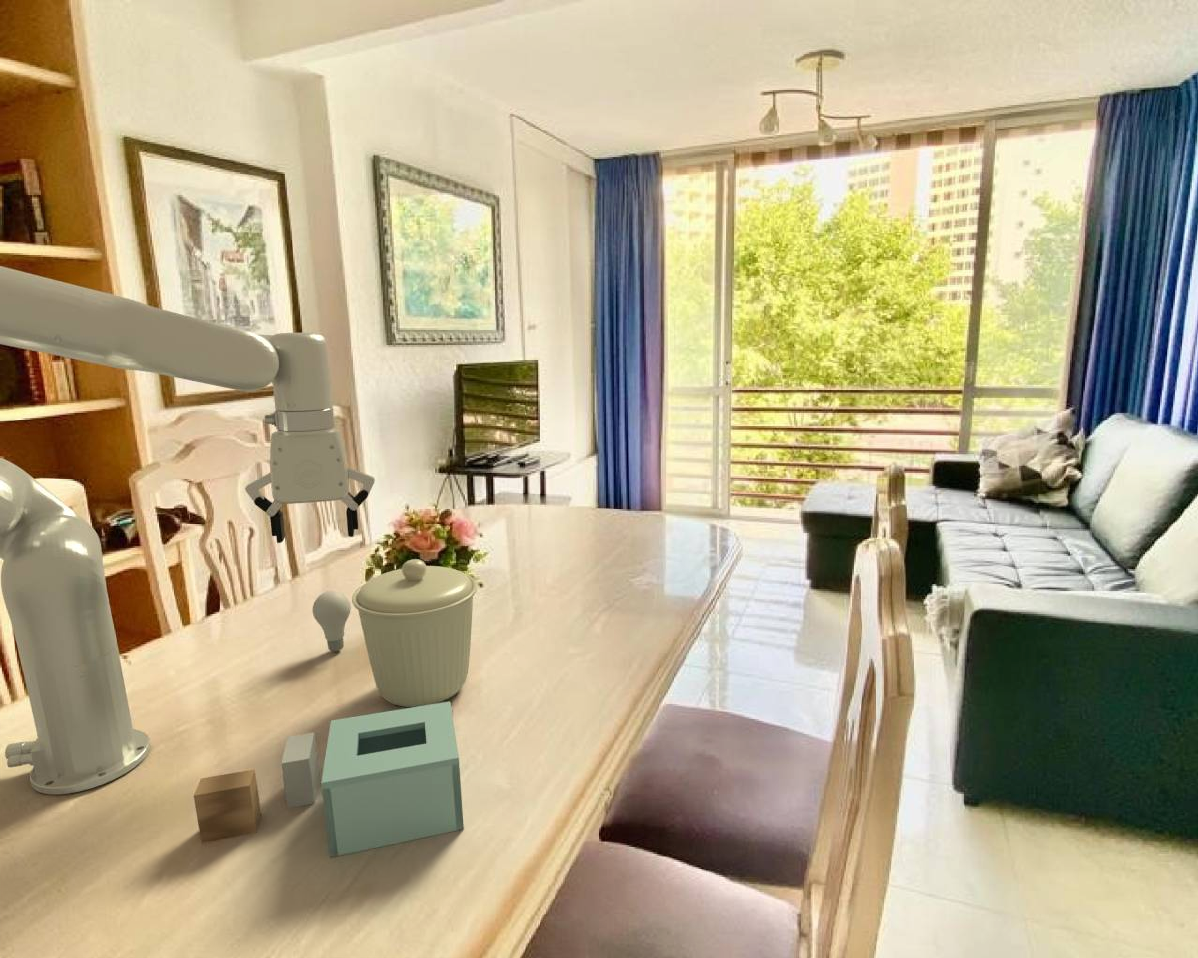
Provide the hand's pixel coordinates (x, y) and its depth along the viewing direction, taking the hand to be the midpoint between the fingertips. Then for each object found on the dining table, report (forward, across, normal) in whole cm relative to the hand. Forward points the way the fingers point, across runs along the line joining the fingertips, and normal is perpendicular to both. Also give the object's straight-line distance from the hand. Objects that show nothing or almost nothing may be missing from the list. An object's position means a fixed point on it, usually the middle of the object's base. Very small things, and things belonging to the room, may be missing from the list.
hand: (316, 537), depth 101 cm
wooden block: (+25, -8, -28) cm, 39 cm away
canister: (+25, +14, -4) cm, 29 cm away
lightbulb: (+25, 0, +14) cm, 29 cm away
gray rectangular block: (+25, -2, -24) cm, 35 cm away
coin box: (+25, +10, -31) cm, 41 cm away
